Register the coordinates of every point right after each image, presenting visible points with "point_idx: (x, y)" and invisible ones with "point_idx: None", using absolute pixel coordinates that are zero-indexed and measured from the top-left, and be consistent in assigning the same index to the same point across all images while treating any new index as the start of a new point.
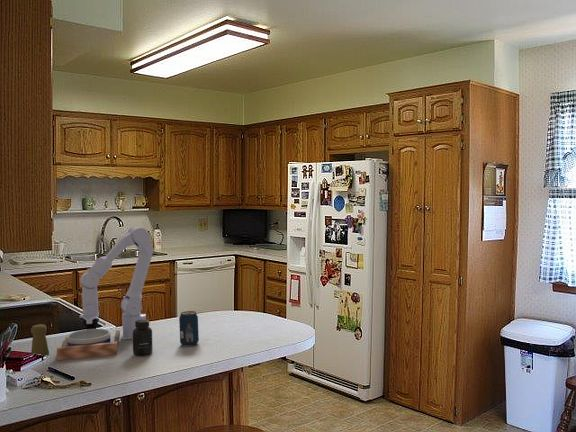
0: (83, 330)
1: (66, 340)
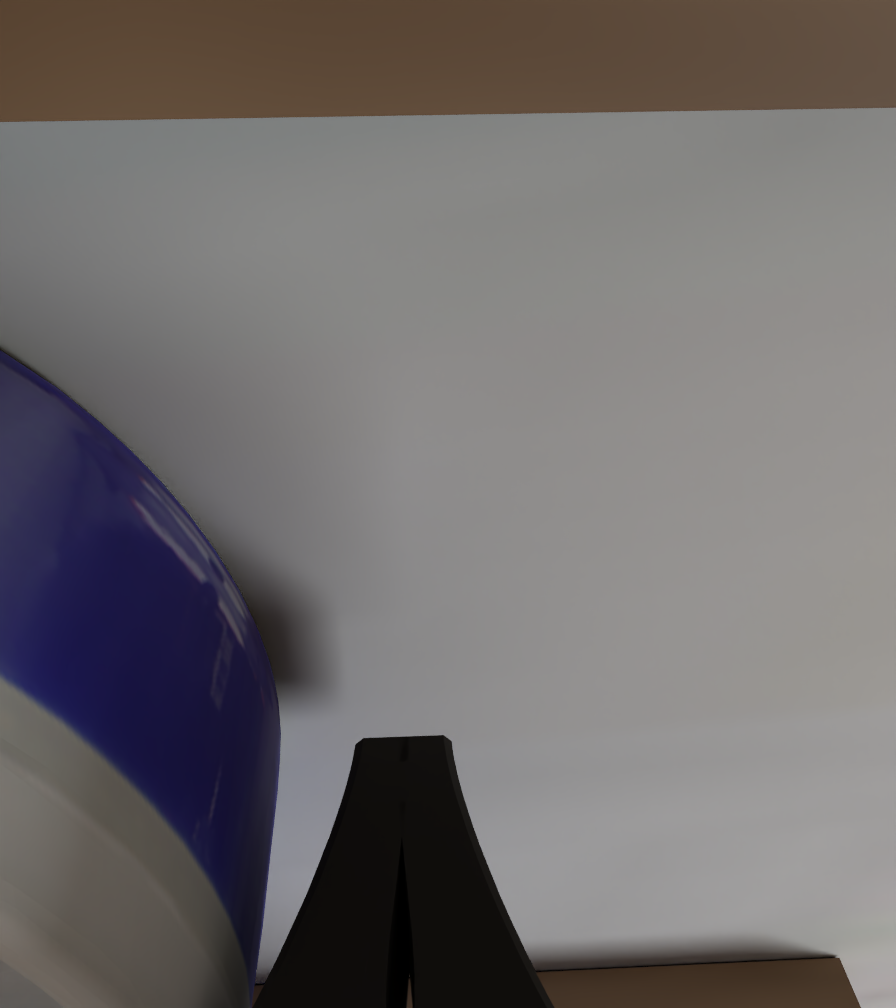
0: (40, 988)
1: (317, 24)
